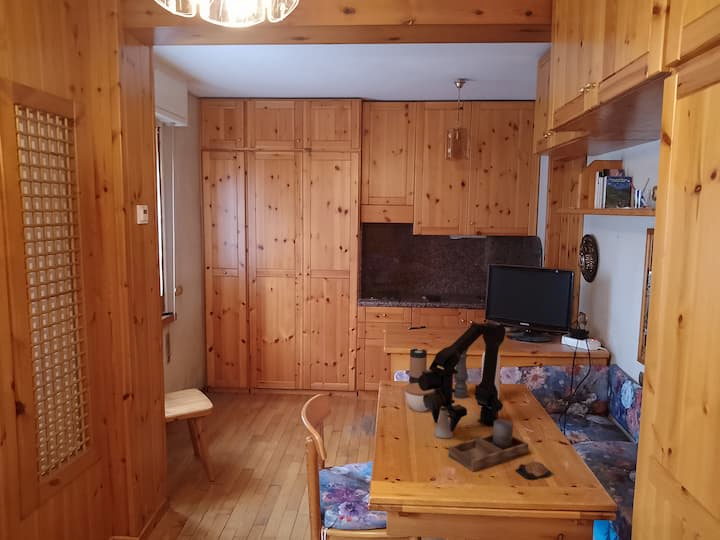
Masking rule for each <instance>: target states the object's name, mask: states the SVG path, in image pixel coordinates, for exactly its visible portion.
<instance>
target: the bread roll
mask: <svg viewBox="0 0 720 540" xmlns="http://www.w3.org/2000/svg"><path fill="white" fill-rule="evenodd" d="M514 471H515V473H517V474H518V475H520V476H521V478H523V479H524V480H525V479H526V480H527V481H536V480H541V479H544V478H545V479H546V478H549V477H551V476H554V475H555V473H554V471H552V470H550V469H549V468H548V467H547V466H545V465H544V464H543V463H542V462H539V461H531V462H529V463H525V464H519V467H518V468H516V469H515V470H514Z"/></svg>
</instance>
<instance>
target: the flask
mask: <svg viewBox="0 0 720 540" xmlns="http://www.w3.org/2000/svg"><path fill="white" fill-rule="evenodd" d="M447 415H449V414H448V409H446V408H444V407H441V408H440V414H439V418H438V422H437V423H436V426H435V430H434V431H433V435H434V436H435V437H436V438H440V439H452V437H453V436H454V431H453V432H451V431H450V419H449V417H448V416H447Z"/></svg>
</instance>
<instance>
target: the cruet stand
mask: <svg viewBox="0 0 720 540" xmlns="http://www.w3.org/2000/svg"><path fill="white" fill-rule="evenodd" d="M492 432H493V433H491V434H487V435H484V436H480V437H475V438H473V439H470V440H469V439H468V440H467V441H463V442H459V443H457V444H452V445H449V446H448V457H449V458H451V459H452V460H453V461H455V462H457V463H458V464H460V465H461V466H463V467H465V468H467V469H468V470H469V471H471V472H473V473H474V472H477V471H480V470H483V469H485V468H489V467H492V466H495V465H498V464H501V463H504V462H507V461H510V460H513V459H517V458H519V457H522V456H526V455H528V454H529V443H527V442H525V441H523V440H521V439H519V438H517V437H514V436H513V433H514V423H513V422H512V421H510V420H507V419H502V418H498V420H495V421H494V426H493V431H492Z"/></svg>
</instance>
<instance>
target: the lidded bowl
mask: <svg viewBox="0 0 720 540" xmlns="http://www.w3.org/2000/svg"><path fill="white" fill-rule="evenodd" d="M404 392H405V400H406V403H407V405H408V406H409V408H410V409H411V410H412V411H414V412H418V413H419V412H420V413H425V412H427V411H429V409H428V408H425V405H424V402H423V397H424V395H425V394H430V393H434V389H432V390H427V391H422V390H421V389H420V387H419V384H418V383H412V384H410V383H408V384H407V385H406V386H405V388H404Z"/></svg>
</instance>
